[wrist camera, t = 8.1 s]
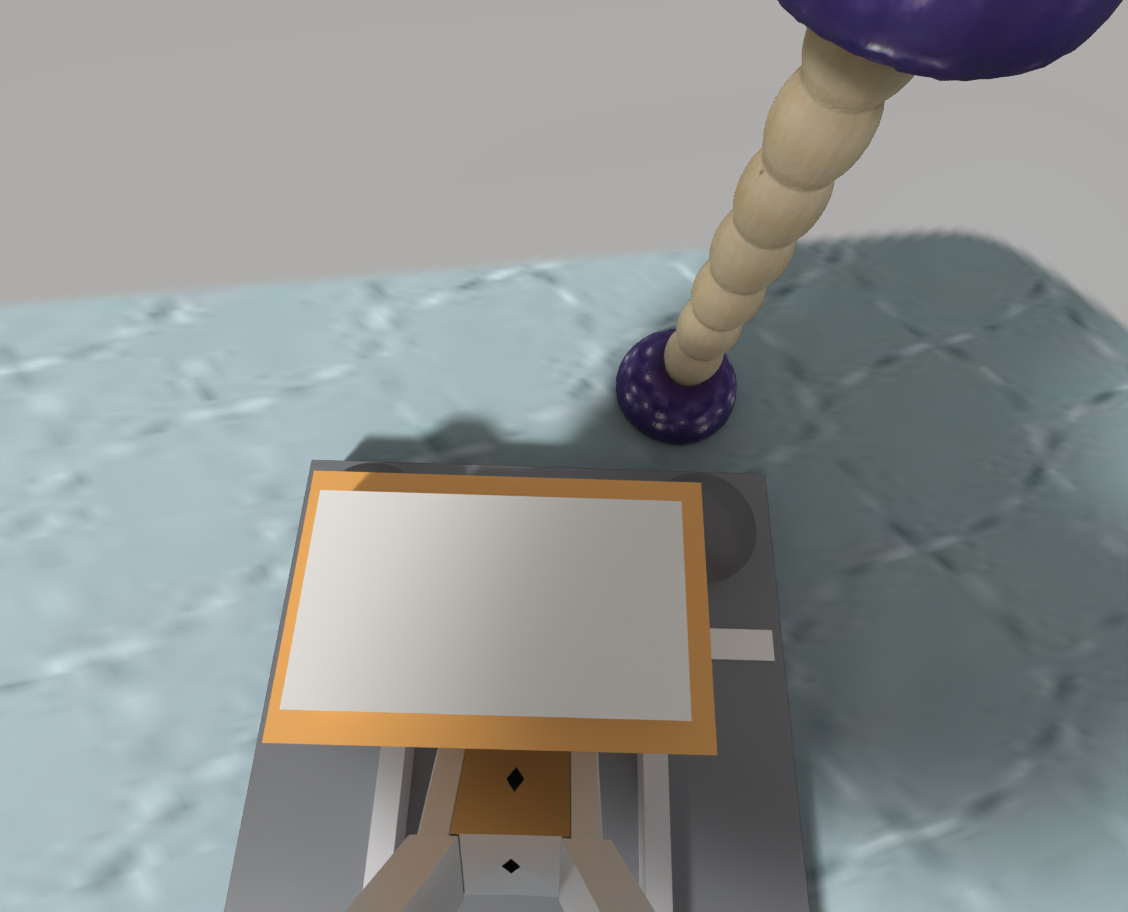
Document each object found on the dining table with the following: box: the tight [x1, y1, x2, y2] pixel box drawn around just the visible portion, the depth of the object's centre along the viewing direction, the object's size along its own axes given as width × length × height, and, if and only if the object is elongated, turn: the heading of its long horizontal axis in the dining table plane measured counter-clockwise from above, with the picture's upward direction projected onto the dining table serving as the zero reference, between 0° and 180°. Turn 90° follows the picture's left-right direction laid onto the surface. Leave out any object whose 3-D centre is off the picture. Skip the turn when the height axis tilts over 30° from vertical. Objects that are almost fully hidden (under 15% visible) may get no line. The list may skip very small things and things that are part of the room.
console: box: [224, 460, 809, 912], centre depth 13 cm, size 14×17×3 cm
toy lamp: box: [616, 0, 1122, 444], centre depth 11 cm, size 5×5×17 cm
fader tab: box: [262, 471, 717, 755], centre depth 10 cm, size 5×3×10 cm, turn 89°
